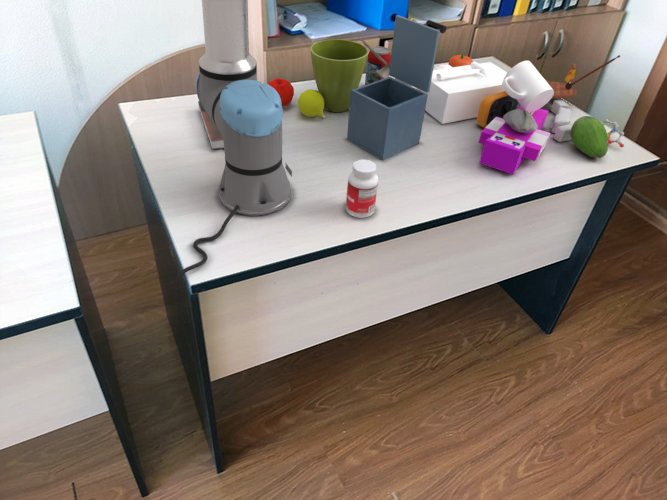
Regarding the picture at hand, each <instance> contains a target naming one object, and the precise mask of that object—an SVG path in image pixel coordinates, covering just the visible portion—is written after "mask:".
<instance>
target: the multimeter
mask: <svg viewBox="0 0 667 500" xmlns="http://www.w3.org/2000/svg"><path fill="white" fill-rule="evenodd" d="M520 106H521V105H520V103H519V102H518V101H517V99H515V98H512V97H511V96H509V95H508V94H507V93H506V92H505V91H503V92H500V93H496V94H493V95H490V96H487V97H485V98H484V99H483V100H482V102H481V104H480V108H479V112H478V116H477V117H476V122H477V125H478V126H480V127H482V128H483V129H485V128H486V127H487V125H488V124H489V123H490V122H491V121H492V120H493V119H494V118H495V117H499V118H502V119H504V118H503V116H504V115H505V114H506V113H508V112H510V111H512V110H516V109H518V108H519V107H520Z"/></svg>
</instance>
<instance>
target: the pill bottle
mask: <svg viewBox="0 0 667 500" xmlns="http://www.w3.org/2000/svg"><path fill="white" fill-rule="evenodd" d="M378 187H379V176H378V174H377V164H376V163H375V162H374V161H372V160H369V159H358V160H356V161H354V162H353V164H352V171H351V172H350V173H349V175H348V177H347V188H346V200H345V211H346V212H347V213H348V214H349V215H350V216H352V217H354V218H359V219H365V218H369V217H371V216H372V215H373V214H374V212H375V209H376V204H377V203H376V202H377V194H378Z"/></svg>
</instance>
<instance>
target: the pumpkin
mask: <svg viewBox="0 0 667 500" xmlns="http://www.w3.org/2000/svg"><path fill="white" fill-rule="evenodd" d="M472 62H474V61H473V59H472V58H471V57H470V56H468V55H464V53H462V54H456V55H453V56H451V57H450V58H449V60H448V63H447V64H448V65H450V66H451V67H459V66H466V65H470V64H471V63H472Z"/></svg>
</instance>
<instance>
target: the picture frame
mask: <svg viewBox="0 0 667 500" xmlns="http://www.w3.org/2000/svg"><path fill="white" fill-rule="evenodd" d="M197 104H198V111H199V113H200V116H201V119H202V122H203V125H204V129H205V131H206V134H207V138H208V140H209V143H210V146H211V149H213V150H217V149H224V142H223V136H222V134H221V132H220V131H219V129H218V128H217V126H216V125H215V123H214V122H213V120H212V119H211V118H210V116H209V115H208V113H207V112H206V111H205V110H204V108H203V107H202V105H201V104H200V102H199V100H197Z"/></svg>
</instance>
